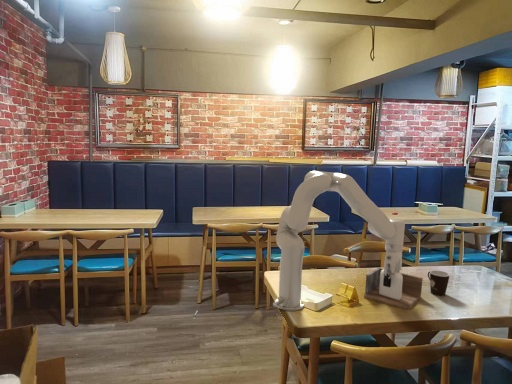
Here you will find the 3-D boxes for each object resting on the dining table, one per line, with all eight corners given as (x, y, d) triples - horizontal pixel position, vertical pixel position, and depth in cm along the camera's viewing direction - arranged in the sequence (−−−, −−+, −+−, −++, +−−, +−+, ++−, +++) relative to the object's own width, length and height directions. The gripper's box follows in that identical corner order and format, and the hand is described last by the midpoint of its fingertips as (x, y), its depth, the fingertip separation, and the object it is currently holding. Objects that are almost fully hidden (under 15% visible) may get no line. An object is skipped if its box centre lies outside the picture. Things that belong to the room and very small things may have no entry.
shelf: (408, 309, 172) (409, 286, 171) (363, 297, 184) (365, 275, 183) (420, 297, 186) (422, 275, 185) (379, 286, 198) (380, 266, 197)
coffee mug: (449, 298, 186) (451, 277, 185) (430, 296, 188) (432, 275, 187) (443, 288, 198) (445, 269, 196) (425, 287, 199) (426, 267, 198)
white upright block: (377, 294, 185) (379, 268, 183) (382, 291, 188) (383, 266, 186) (398, 301, 177) (400, 274, 176) (402, 298, 180) (405, 272, 179)
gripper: (395, 252, 170) (392, 291, 173) (408, 245, 184) (405, 280, 186) (378, 249, 175) (375, 286, 177) (392, 241, 188) (389, 276, 191)
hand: (390, 283), depth 182 cm, fingers open, 9 cm apart
